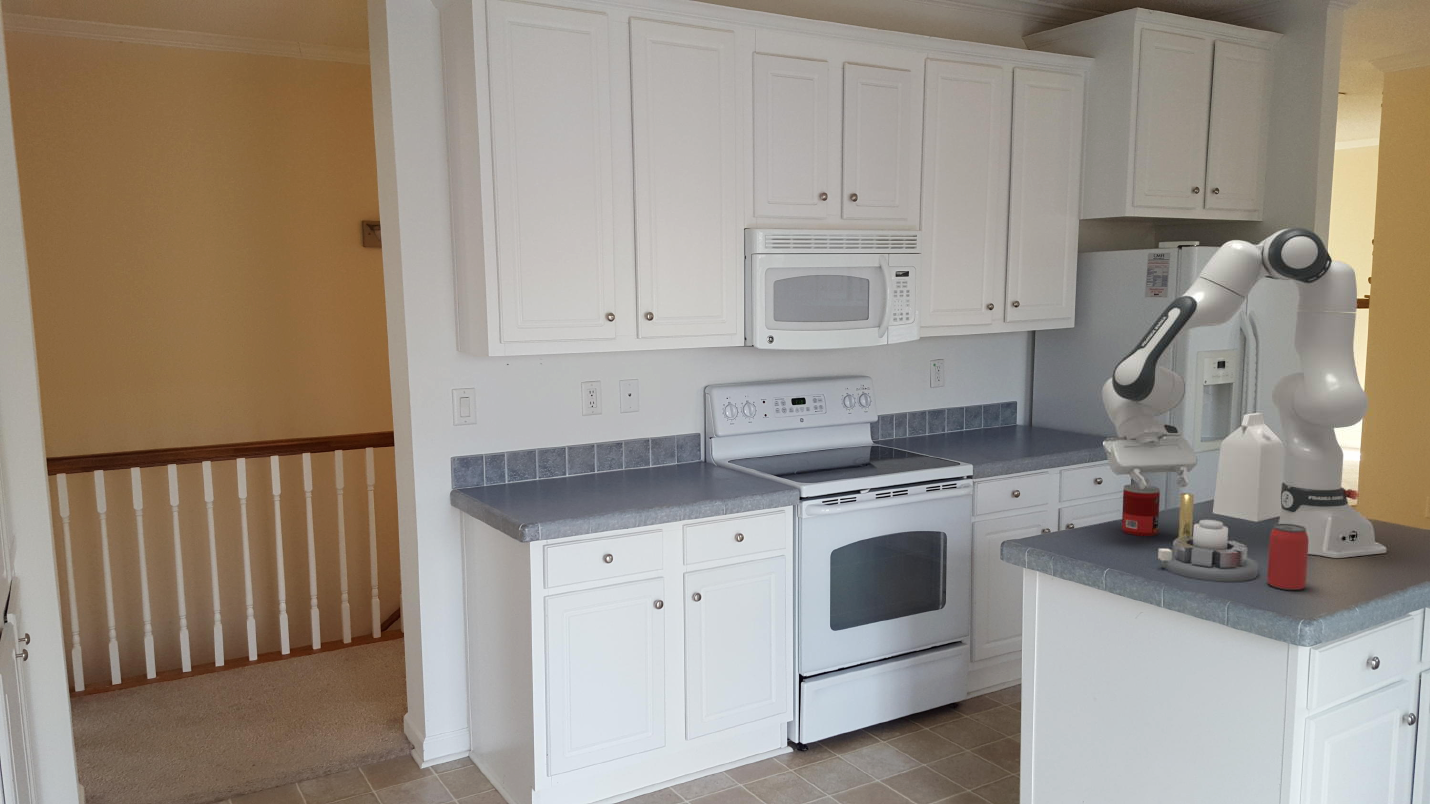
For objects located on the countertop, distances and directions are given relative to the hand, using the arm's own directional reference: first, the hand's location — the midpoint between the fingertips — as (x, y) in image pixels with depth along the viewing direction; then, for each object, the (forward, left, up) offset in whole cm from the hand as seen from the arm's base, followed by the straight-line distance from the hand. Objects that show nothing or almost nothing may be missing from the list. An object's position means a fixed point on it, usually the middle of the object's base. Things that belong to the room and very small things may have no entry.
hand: (1165, 486), depth 224 cm
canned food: (-3, -14, -14) cm, 21 cm away
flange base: (-1, +16, -14) cm, 22 cm away
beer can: (-9, +29, -14) cm, 34 cm away
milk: (-40, -29, -14) cm, 51 cm away
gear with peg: (-1, +15, -12) cm, 19 cm away
